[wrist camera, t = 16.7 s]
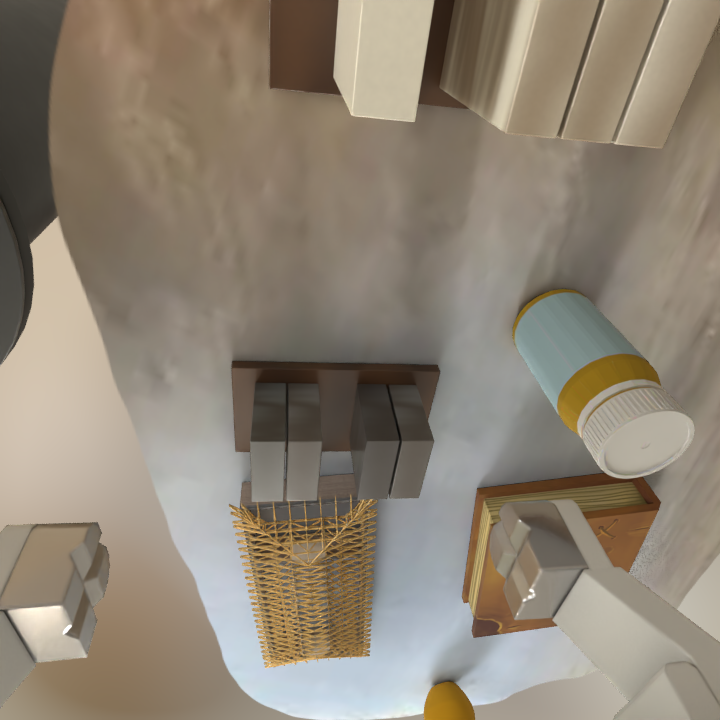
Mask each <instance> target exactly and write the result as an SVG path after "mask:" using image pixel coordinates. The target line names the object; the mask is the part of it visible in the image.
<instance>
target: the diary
mask: <svg viewBox="0 0 720 720" xmlns="http://www.w3.org/2000/svg"><path fill="white" fill-rule="evenodd" d="M566 499H569V500H573V501H574V502H575V503H577V505H578V506H579V508H580V510H581V512H582V513H583V515H584V517H585V518H586V520H587V522H588V524H589V525H590V527H591V529H592V530H593V532H594V534H595V536H596V537H597V539H598V541H599V542H600V544H601V546H602V547H603V549H604V551H605V553H606V554H607V556H608V558H609V559H610V561H611V563H612V565H613V566H614V567H621V568H622V569H624V570H625V571H626V572H628V573H629V570H630V568H631V566H632V564H633V562H634V560H635V558H636V556H637V554H638V552H639V550H640V548H641V546H642V544H643V541H644V539H645V537H646V535H647V533H648V531H649V529H650V527H651V525H652V523H653V521H654V519H655V517H656V514H657V512H658V510H659V507H660V504H661V502H660V500H659V499H658V497H657V496H656V495H655V493H654V492H653V491H652V489H651V488H650V486H649V485H648V484H647V482H646V481H645V480H644V478H643V477H637V478H629V479H622V478H615V477H612V476H610V475H608V474H606V473H602V474H593V475H585V476H577V477H569V478H561V479H552V480H544V481H536V482H528V483H520V484H511V485H503V486H495V487H487V488H479V489H477V493H476V500H475V507H474V514H473V522H472V529H471V536H470V543H469V550H468V557H467V565H466V572H465V579H464V586H463V593H462V599H463V602H464V603H468V602H469V604H470V607H471V611H472V614H473V617H474V620H473V626H472V634H473V637H474V638H476V637H483V636H490V635H497V634H504V633H511V632H518V631H526V630H533V629H540V628H547V627H554V626H557V625H556V624H555V623H554V621H553V618H543V619H525V620H514V617H513V615H512V612H511V609H510V607H509V604H508V602H507V599H506V596H505V594H504V591H503V588H504V584H505V581H506V579H505V578H504V577H503V576H502V575H501V574H500V573H499V572H498V571H497V570H496V569H495V567H494V564H493V561H492V558H491V553H490V533H491V530H492V527H493V526H494V525H495V524H496V523H498V522H499V521H500V520H501V519H500V516H499V514H498V513H499V510H500V508H501V506H502V505H503V504H504V503H506V502H522V501H538V500H548V501H551V500H566Z"/></svg>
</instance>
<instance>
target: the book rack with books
mask: <svg viewBox="0 0 720 720" xmlns="http://www.w3.org/2000/svg"><path fill="white" fill-rule="evenodd" d="M338 2H339V0H270V3H269V88H270V89H278V90H288V91H298V92H308V93H317V94H327V95H337V96H342V94H341V92H340V90H339V88H338V86H337V84H336V82H335V79H334V77H333V75H334V60H335V46H336V31H337V17H338ZM719 19H720V0H434V6H433V12H432V19H431V25H430V31H429V37H428V44H427V50H426V56H425V63H424V69H423V75H422V81H421V88H420V94H419V100H418V104H425V105H435V106H445V107H455V108H464V109H471V110H472V111H474V112H475V113H477V114H478V115H480V116H481V117H482V118H484V119H485V120H487V121H488V122H490V123H491V124H493V125H494V126H495V127H497V128H498V129H500V130H501V131H503V132H504V133H506V134H513V135H524V136H534V137H545V138H556V137H557V136H558V137H559V138H561V139H566V140H577V141H587V142H598V143H611V142H612V143H615V144H618V145H629V146H639V147H650V148H660V149H661V148H663V147H664V145H665V143H666V141H667V138H668V136H669V134H670V131H671V129H672V127H673V124H674V122H675V120H676V118H677V115H678V113H679V111H680V108H681V106H682V104H683V101H684V99H685V97H686V95H687V92H688V90H689V88H690V85H691V83H692V81H693V78H694V76H695V74H696V72H697V69H698V67H699V65H700V62H701V60H702V58H703V55H704V53H705V51H706V49H707V46H708V44H709V42H710V39H711V37H712V35H713V33H714V30H715V28H716V26H717V23H718V21H719Z"/></svg>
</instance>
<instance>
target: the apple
mask: <svg viewBox="0 0 720 720" xmlns="http://www.w3.org/2000/svg"><path fill="white" fill-rule="evenodd" d="M424 720H475V713H474V710H473V707H472V704H471V702H470V701H469V699H468V697H467V696H466V695H465V693H464V692H463V691H462V690H461V689H460V687H459V686H458V685H457V684H456V683H454V682H451V681H448V682H443V683H440V684H437V685H435V686H433V687H432V688H431V690H430V691H429V693H428V696H427V699H426V702H425V706H424Z"/></svg>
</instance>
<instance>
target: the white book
mask: <svg viewBox="0 0 720 720" xmlns="http://www.w3.org/2000/svg"><path fill="white" fill-rule="evenodd" d="M433 6H434V0H339V2H338V17H337V31H336V46H335V60H334V75H333V77H334V79H335V82H336V84H337V86H338V88H339V90H340V92H341V94H342V96H343V98H344V100H345V102H346V105H347V107H348V109H349V111H350V113H351V115H352V116H357V117H367V118H378V119H388V120H399V121H409V122H415V119H416V113H417V107H418V100H419V94H420V88H421V81H422V75H423V69H424V63H425V56H426V50H427V44H428V37H429V31H430V25H431V19H432V12H433Z"/></svg>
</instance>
